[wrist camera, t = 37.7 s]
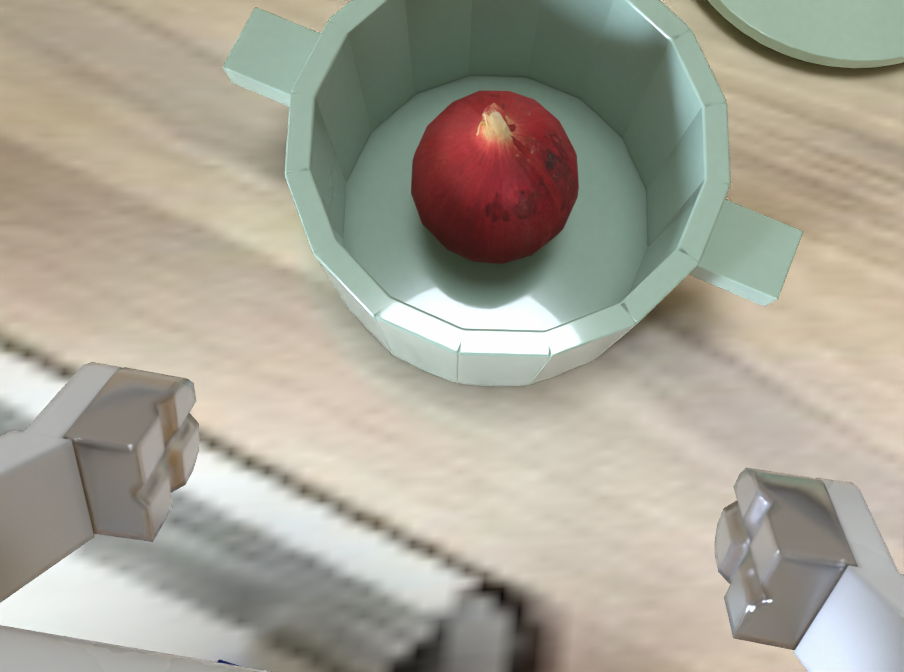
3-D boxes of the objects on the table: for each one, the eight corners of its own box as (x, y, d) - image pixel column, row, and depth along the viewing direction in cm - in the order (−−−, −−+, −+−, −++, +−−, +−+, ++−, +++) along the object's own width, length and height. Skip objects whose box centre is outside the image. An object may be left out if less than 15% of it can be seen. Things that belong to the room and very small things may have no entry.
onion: (584, 180, 30) (629, 76, 22) (529, 308, 29) (557, 247, 21) (451, 126, 31) (450, 5, 23) (393, 251, 30) (371, 169, 22)
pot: (652, 472, 29) (722, 470, 21) (208, 275, 30) (129, 209, 23) (773, 165, 31) (873, 66, 24) (354, -4, 32) (325, -147, 25)
